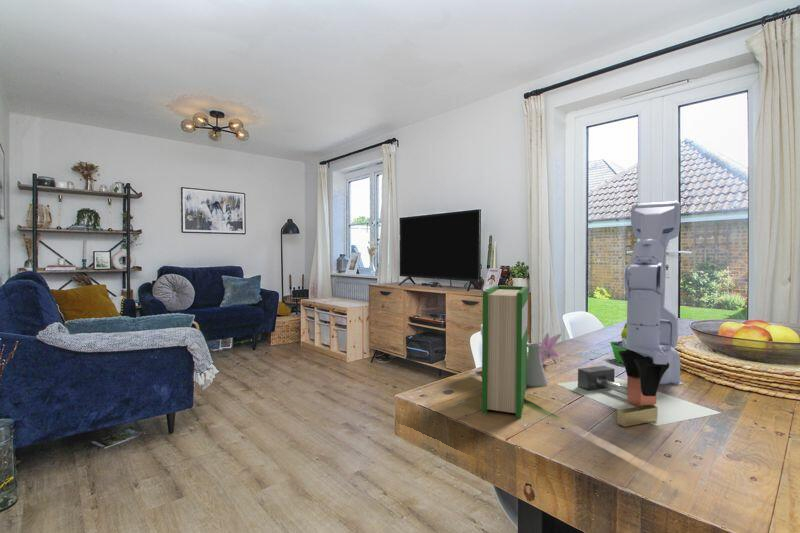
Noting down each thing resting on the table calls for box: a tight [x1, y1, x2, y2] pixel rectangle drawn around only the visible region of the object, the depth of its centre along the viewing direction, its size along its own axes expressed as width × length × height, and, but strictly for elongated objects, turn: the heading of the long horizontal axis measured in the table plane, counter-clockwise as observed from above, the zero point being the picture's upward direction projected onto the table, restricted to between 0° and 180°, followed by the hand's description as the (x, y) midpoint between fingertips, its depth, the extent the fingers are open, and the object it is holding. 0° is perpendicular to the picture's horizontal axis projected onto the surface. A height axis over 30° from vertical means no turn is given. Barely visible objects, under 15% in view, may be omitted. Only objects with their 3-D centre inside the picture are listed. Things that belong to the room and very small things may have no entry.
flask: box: [527, 342, 549, 387], centre depth 96 cm, size 7×7×10 cm
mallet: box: [597, 374, 657, 406], centre depth 88 cm, size 4×16×5 cm, turn 20°
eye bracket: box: [577, 365, 616, 391], centre depth 92 cm, size 8×3×4 cm, turn 110°
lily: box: [534, 332, 562, 366], centre depth 112 cm, size 12×12×10 cm
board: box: [556, 376, 722, 427], centre depth 86 cm, size 18×25×1 cm
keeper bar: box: [616, 405, 658, 428], centre depth 72 cm, size 8×2×2 cm, turn 110°
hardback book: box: [481, 285, 529, 419], centre depth 86 cm, size 18×7×24 cm, turn 159°
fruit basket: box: [609, 322, 627, 363], centre depth 119 cm, size 11×9×11 cm
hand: (641, 390), depth 82 cm, fingers open, 5 cm apart
